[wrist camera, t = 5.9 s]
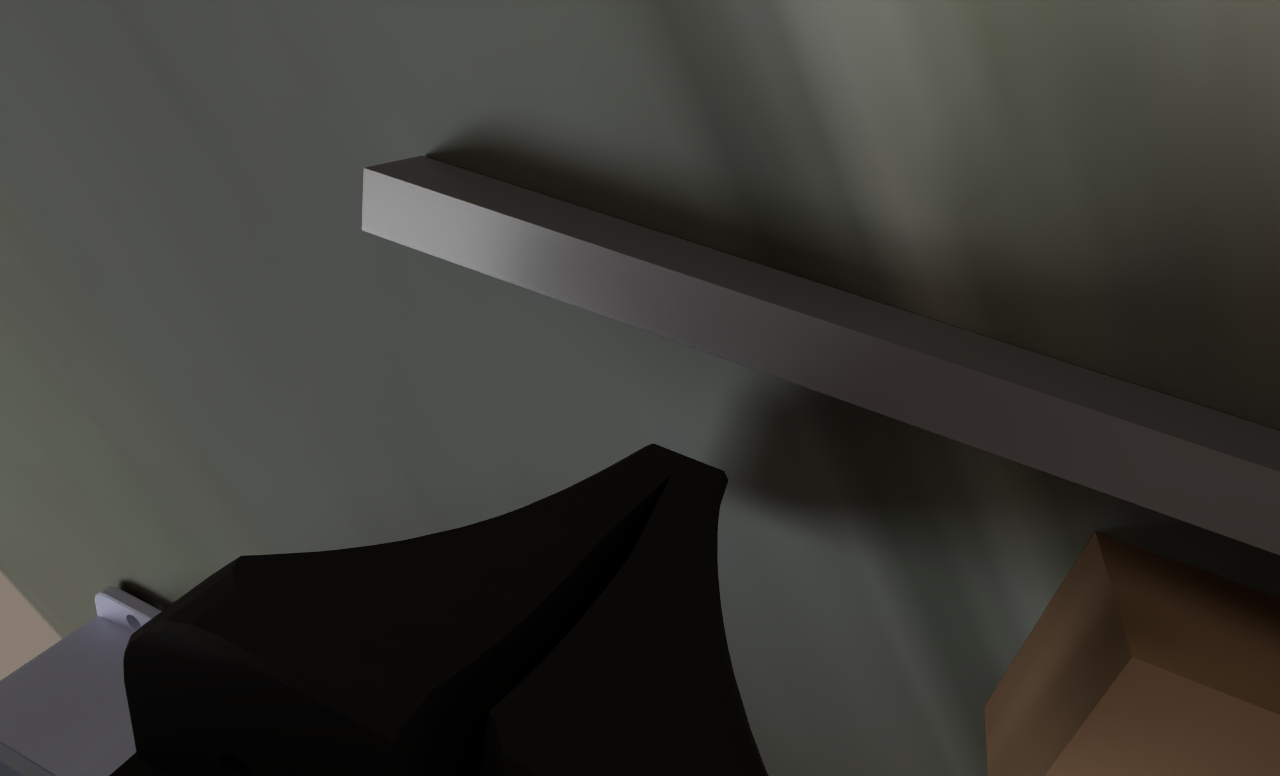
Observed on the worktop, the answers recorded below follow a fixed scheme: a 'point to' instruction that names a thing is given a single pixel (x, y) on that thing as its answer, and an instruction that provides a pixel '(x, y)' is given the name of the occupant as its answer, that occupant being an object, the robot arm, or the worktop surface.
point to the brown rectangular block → (1142, 675)
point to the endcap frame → (847, 347)
